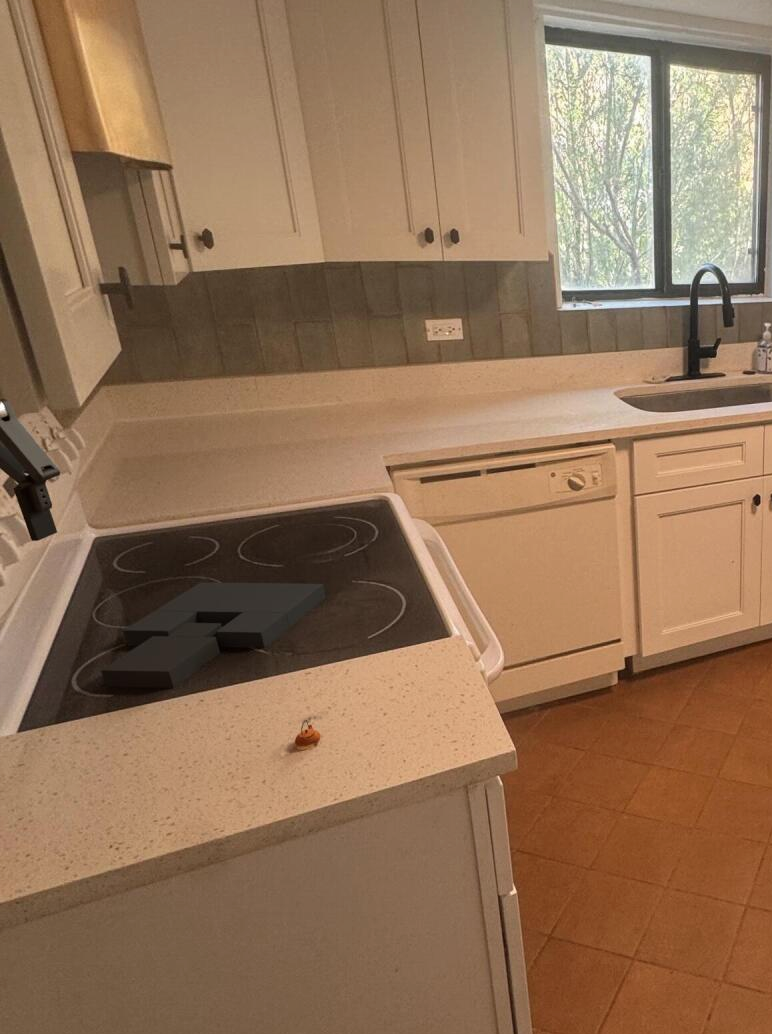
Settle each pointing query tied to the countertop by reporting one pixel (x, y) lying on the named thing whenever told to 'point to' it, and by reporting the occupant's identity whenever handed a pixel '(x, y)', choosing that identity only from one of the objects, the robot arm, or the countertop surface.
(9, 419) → the robot arm
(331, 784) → the countertop surface
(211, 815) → the countertop surface
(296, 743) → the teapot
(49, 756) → the countertop surface
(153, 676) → the pad
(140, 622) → the notch pad
